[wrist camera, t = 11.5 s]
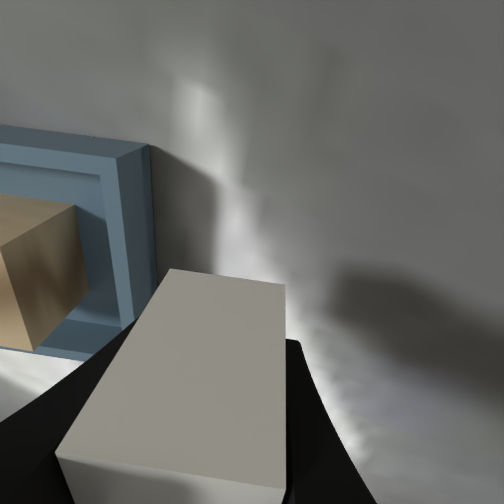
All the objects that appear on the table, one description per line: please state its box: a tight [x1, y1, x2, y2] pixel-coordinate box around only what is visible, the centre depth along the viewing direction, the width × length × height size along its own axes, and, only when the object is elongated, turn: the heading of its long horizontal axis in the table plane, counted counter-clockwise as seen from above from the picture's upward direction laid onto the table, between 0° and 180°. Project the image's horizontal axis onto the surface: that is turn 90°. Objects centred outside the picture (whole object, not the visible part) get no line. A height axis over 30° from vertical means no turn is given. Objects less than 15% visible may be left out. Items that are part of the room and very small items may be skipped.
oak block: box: [0, 193, 90, 352], centre depth 16 cm, size 6×5×5 cm
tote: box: [0, 125, 158, 362], centre depth 17 cm, size 13×13×4 cm
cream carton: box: [55, 269, 286, 504], centre depth 9 cm, size 4×4×6 cm
